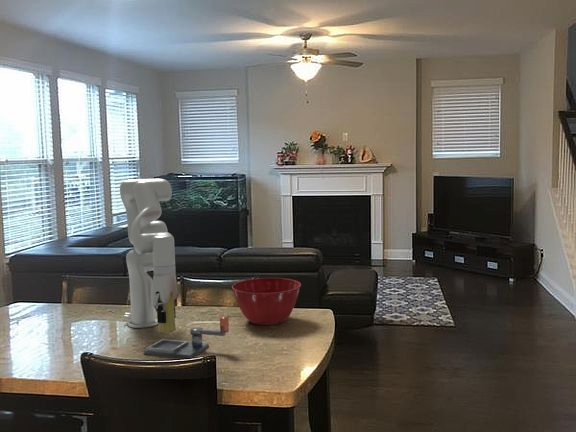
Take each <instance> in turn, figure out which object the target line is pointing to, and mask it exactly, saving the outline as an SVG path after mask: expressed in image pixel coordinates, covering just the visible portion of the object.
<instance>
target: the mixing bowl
mask: <svg viewBox="0 0 576 432" xmlns="http://www.w3.org/2000/svg"><path fill="white" fill-rule="evenodd" d="M301 286H302V284H301V282H300V281H298V280H295V279H291V278H283V277H258V278H249V279H244V280H241V281H237V282H235V283H234V284H233V285H231V288H232V290H233V293H234V296H235V300H236V303H237V305H238V308H239V309H240V311H241V313H242V314H243V316H244V317H245V318H246V319H247V320H248V322H251V323H252V324H254V325H258V326H274V325H278V324H281V323H283V322H284V321H286V320H287V319H288V318H289V317H290V316H291V313H292V312H293V309H294V308H295V305H296V303H297V300H298V296H299V293H300V288H301Z"/></svg>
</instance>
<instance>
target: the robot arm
mask: <svg viewBox="0 0 576 432" xmlns="http://www.w3.org/2000/svg"><path fill="white" fill-rule="evenodd" d="M172 194H173V189H172V186H171V184H170V182H169V180H166V179H164V178H135V179H134V178H133V179H127V180H126V179H125V180H124V181H122V182H121V183H120V186H119V195H120V199H121V202H122V204H123V206H124V209H125V212H126V222H127V223H126V224H127V236H128V240H129V243H130V244H132V245H133V249H131V250H129V251H128V252H127V253H126V255H125V257H126V258H125V261H126V265H127V266H126V267H127V271H128V277H129V294H130V295H129V298H130V299H129V300H130V312H125V313H124V315H123V319H126V320H128V321H127V326H128V327H130V328H135V329H145V328H150V327H151V328H152V327H155V326H157V325H159V323H166V312H165V305H166V303H168V301H169V298H170V292H171V291H173V300H174V314H175V319H176V317H177V315H176V314H177V313H176V307H177V304H176V303H177V299H178V297H179V294H178V285H177V284H178V282H177V277H176V273H177V272H176V252H175V238H174V235H173V234H171V233H170V232H168V228H167V224H166V223H165V222H164V221H163V220H158V219H159V218H160V217H161V215H162V212H163V211H162V207H161V204H160V202H167V201H168V202H169V201H170V200H171V198H172ZM151 271H153V277H151V276H150V275H149V274H148V272H151ZM160 301H162V303H160ZM160 305H162V307H161V306H160ZM156 316H157V317H156Z"/></svg>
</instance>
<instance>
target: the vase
mask: <svg viewBox="0 0 576 432" xmlns="http://www.w3.org/2000/svg"><path fill="white" fill-rule="evenodd" d="M160 303H162V301H160ZM160 306H161V307H162V305H160ZM165 312H166V323H158V330H157V331H158V332H159V333H160V334H161V333H162V334H168V333H169V334H170V333H174V332H175V331H176V330H177V329H176V328H177V327H176V318H175V314H174V300H173V291H171V292H170V298H169V301H168V303H166V305H165Z"/></svg>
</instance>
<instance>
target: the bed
mask: <svg viewBox="0 0 576 432" xmlns="http://www.w3.org/2000/svg"><path fill="white" fill-rule="evenodd" d="M209 345H210V344H209V343H208V342H207V343H206V342H203V334H201V335H191V341H188V340H177V339H165V338H161V339H160V340H159V341H158V340H157V341H156V342H155V343H153V344H151V345H149V346H147V347H146V349H145V350H143V355H147V356H155V357H156V356H157V357H166V358H167V357H168V358H179V359H185V358H191V359H192V358H194V357H195V356H196V355H198V354H199V353H202V351H204V350H205V349H207V348H208V347H209Z"/></svg>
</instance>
